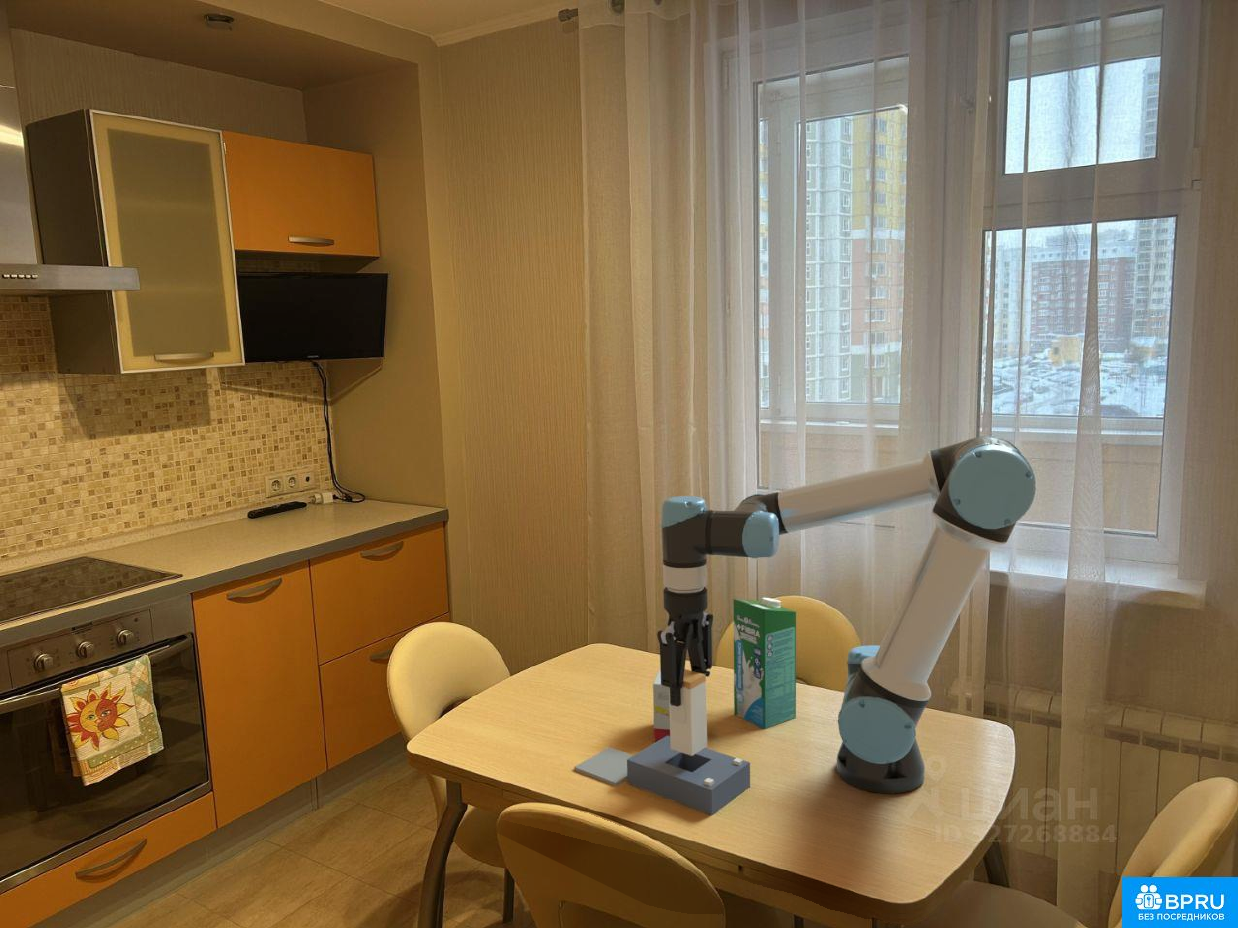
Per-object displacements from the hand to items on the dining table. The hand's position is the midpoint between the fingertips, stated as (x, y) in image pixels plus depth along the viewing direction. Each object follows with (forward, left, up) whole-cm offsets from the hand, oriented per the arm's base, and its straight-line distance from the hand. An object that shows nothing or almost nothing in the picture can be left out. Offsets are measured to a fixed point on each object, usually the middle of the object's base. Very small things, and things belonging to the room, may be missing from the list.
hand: (688, 716), depth 160 cm
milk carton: (+4, -33, -13) cm, 36 cm away
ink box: (+14, -16, -13) cm, 25 cm away
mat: (+15, +3, -13) cm, 20 cm away
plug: (0, 0, -6) cm, 6 cm away
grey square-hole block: (0, 0, -13) cm, 13 cm away
